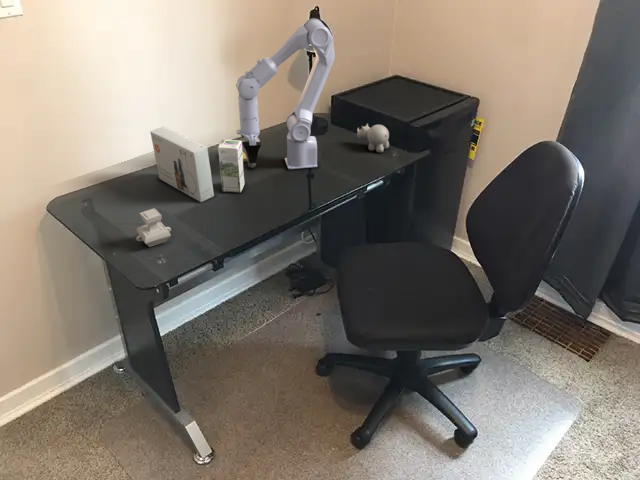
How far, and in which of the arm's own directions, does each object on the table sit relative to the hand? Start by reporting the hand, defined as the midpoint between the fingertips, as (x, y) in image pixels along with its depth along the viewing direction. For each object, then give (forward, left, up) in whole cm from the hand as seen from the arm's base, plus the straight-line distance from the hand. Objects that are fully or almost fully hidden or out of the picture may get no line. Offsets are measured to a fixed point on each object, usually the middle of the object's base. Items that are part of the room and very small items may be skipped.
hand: (251, 157), depth 178 cm
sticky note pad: (+5, -8, -3) cm, 10 cm away
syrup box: (+7, +13, -4) cm, 15 cm away
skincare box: (+21, +10, -4) cm, 24 cm away
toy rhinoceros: (-42, -8, -4) cm, 43 cm away
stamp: (+29, +38, -4) cm, 48 cm away
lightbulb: (0, 0, -4) cm, 4 cm away
